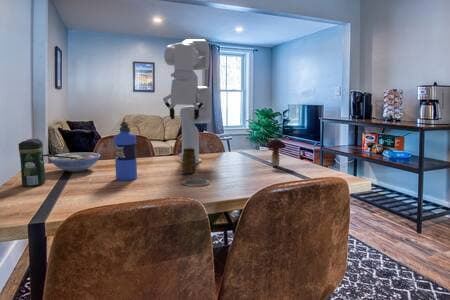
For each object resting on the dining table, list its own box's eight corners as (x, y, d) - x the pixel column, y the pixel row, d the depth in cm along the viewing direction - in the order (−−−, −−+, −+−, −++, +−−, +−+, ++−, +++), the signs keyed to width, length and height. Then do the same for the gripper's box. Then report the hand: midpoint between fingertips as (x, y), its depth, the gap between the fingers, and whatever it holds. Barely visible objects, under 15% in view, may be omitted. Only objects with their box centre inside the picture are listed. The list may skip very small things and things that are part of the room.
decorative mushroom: (276, 169, 167) (277, 140, 165) (260, 166, 175) (261, 138, 173) (289, 166, 174) (290, 139, 172) (273, 163, 182) (274, 137, 180)
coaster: (175, 183, 136) (175, 182, 136) (194, 178, 146) (194, 176, 146) (197, 188, 129) (197, 186, 129) (215, 182, 139) (215, 180, 139)
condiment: (193, 171, 161) (193, 147, 159) (199, 175, 153) (199, 149, 151) (179, 172, 157) (179, 148, 156) (185, 176, 150) (184, 150, 148)
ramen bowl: (112, 168, 165) (111, 152, 164) (75, 178, 144) (73, 160, 143) (77, 164, 175) (76, 149, 174) (37, 172, 155) (36, 155, 154)
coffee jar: (27, 181, 137) (23, 138, 134) (48, 180, 139) (44, 137, 136) (18, 187, 128) (14, 140, 125) (41, 186, 130) (37, 140, 127)
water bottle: (125, 182, 138) (123, 123, 135) (111, 179, 143) (108, 122, 140) (141, 177, 146) (140, 122, 142) (127, 175, 151) (125, 121, 147)
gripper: (160, 75, 127) (160, 119, 130) (203, 75, 125) (203, 119, 128) (165, 77, 135) (166, 118, 137) (206, 77, 133) (206, 119, 135)
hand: (184, 119), depth 132 cm, fingers open, 9 cm apart
